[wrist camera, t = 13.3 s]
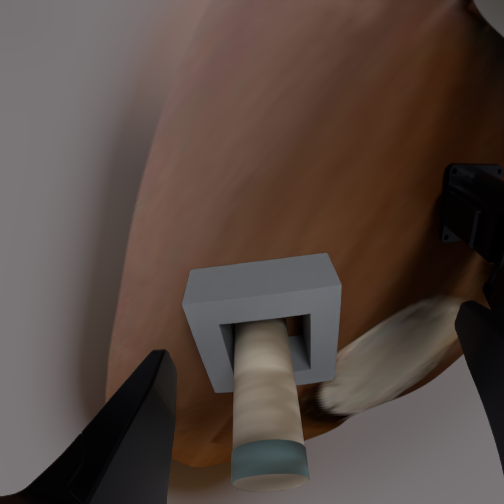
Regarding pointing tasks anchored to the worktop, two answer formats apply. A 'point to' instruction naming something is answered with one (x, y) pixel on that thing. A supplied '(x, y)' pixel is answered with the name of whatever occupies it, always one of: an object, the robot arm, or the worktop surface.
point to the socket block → (266, 312)
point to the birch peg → (266, 411)
